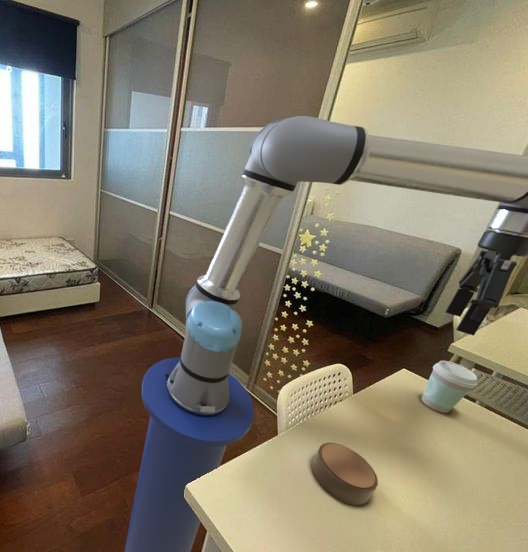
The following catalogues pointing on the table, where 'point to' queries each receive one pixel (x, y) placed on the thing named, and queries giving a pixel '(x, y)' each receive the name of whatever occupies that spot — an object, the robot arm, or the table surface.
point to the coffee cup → (448, 386)
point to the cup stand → (344, 473)
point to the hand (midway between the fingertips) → (458, 322)
